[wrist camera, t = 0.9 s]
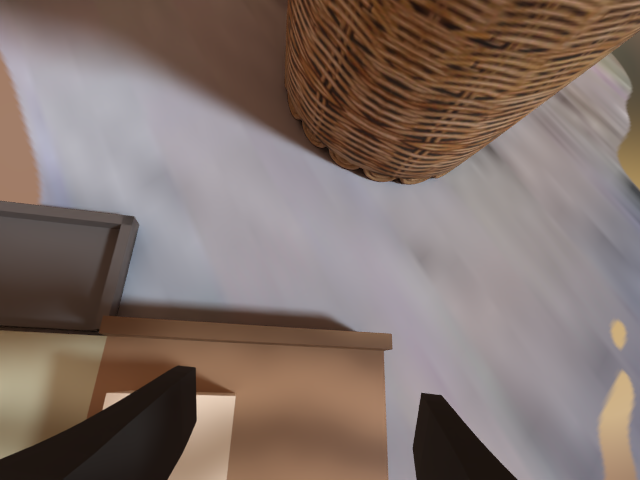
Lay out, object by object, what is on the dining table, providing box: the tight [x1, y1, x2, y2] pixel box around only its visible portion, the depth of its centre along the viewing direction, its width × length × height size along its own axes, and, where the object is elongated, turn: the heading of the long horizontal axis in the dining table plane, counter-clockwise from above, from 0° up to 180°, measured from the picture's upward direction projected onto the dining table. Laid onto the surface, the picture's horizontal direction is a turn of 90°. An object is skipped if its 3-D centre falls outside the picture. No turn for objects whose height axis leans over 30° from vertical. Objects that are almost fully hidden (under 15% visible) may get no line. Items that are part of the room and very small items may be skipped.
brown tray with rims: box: [0, 316, 392, 480], centre depth 20 cm, size 16×32×4 cm, turn 88°
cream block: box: [102, 390, 236, 480], centre depth 18 cm, size 6×6×4 cm
